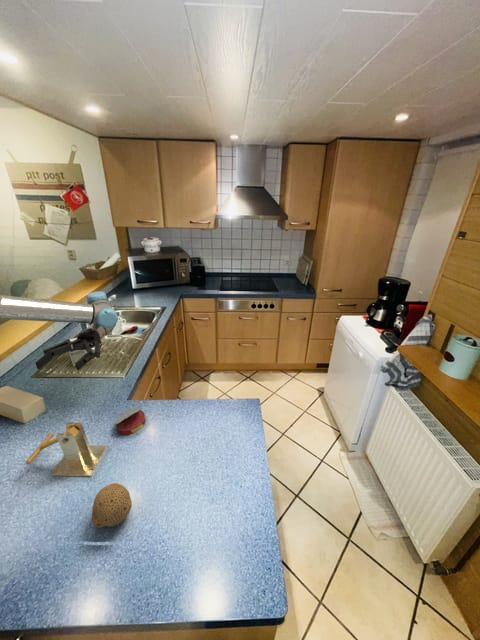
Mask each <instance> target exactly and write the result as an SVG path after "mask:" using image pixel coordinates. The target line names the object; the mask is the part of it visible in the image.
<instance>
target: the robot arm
mask: <svg viewBox="0 0 480 640" xmlns="http://www.w3.org/2000/svg"><path fill="white" fill-rule="evenodd" d="M0 320H11V321H13V320H14V321H15V320H16V321H33V322H51V323H52V322H53V323H70V324H90V325H88V326H87V327H86V328H84V330H83V331H81V332H80V333H79V334H78V335H77V337H76V338H77V339H76V340H74V341H70V339H71V338H68V339H65V340H64V341H62V342H60V343H57V344H55V345H53V346H50V347H47V348H46V349H45V348H44V349H43V350H42V353H43V355H42V356H41V357H40V358H39V359H38V360H37V361H35V362H34V364H35V365H36V369H37V370H41V369H42V368H43V367H45V366H46V365H47V364H49V363H50V362H51V361H52V360H53V359H54V357H55V358H56V357H57V356H60V355H63V354H66V353H69V351H70V352H72V351H75V350H85V349H86V351H87V353H86V354H85V355H84V356H83V357H81V358H80V359H79V360H78V361H77V362H76V363H75V365H76V366H75V368H76V370H77V371H80V370H81V369H82V368H83V367H85V365H87V364H86V363H88V362H89V361H90V362H91V360H93V359H95V358H96V359H99V358H101V348H102V347H103V344H102V340H103V339H104V338H105V337H106V336H108V334H109V333H111V332H112V331H113V330H114V329H115V327H116V326H117V323H118V321H119V315H118V313H117V311H116V310H115V309H114V308H113V307H112V305H111V304H110V303H109V301H108V297H107V294H106V292H104V291H92V292H89V293H88V294H86V303H82V302H73V301H63V300H62V301H61V300H55V299H54V300H53V299H42V298H34V297H33V298H32V297H25V296H13V295H4V294H1V293H0ZM71 345H73V349H72V348H71ZM93 348H94V351H93ZM90 362H89V363H90Z"/></svg>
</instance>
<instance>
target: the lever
mask: <svg viewBox="0 0 480 640" xmlns="http://www.w3.org/2000/svg"><path fill="white" fill-rule="evenodd" d="M78 432H79V431H78V430H77V429H76V428H75V427H74V426H73V427H71V428H69V429H67V428H66V430H65V431H64V433H68V434H74V437H76V435H77V434H78ZM54 435H55V434H54V433H53V432H49V434H48V435H47V436H46V437H45V438H44V439H43V440H42V442H41V443H40V444H39V445H38V447H36V449H35V450H34V451H33V453H31V455H30V456H29V457H28V458H27V460H26V461H25V464H26V465H28V466H29V465H32V463H33V462H34V461H35V459H36V458H37V457H38V456H39V454H40V453H41V452H42V451H43V450H45V449H47V448H48V447H51V446H53V445H55V444H57V443H59V442H58V439H57V437H55V438H53V437H54Z"/></svg>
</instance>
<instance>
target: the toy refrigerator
mask: <svg viewBox="0 0 480 640" xmlns="http://www.w3.org/2000/svg"><path fill="white" fill-rule="evenodd" d="M45 411H47V409H46V403H45V399H44V397H43V396H40V395H36V394H34V393H30V392H27V391H25V390H21V389H18V388H15V387H12V386H8V385H5V386H2V387H0V415H1V416H3V417H6V418H8V419H11V420H14V421H17V422H19V423H22V424H25V425H26V424H27V423H29V422H31V421H32V420H33V419H35V418H36V417H38V416H39V415H40V414H42V413H43V412H45Z"/></svg>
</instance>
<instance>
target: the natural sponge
mask: <svg viewBox="0 0 480 640" xmlns="http://www.w3.org/2000/svg"><path fill="white" fill-rule="evenodd" d="M130 494H131V493H130V492H129V490H128V489H127V488H126V486H125V485H123V484H121V483H117V482H114V483H113V482H112V483H110V484H108V485H105V486H104V487H102V488H101V489H100V490H99V491H98V492H97V494H96V495H95V498H94V500H93V503H92V510H91V523H92V525H93V526H94V527H96V528H104V527H108V528H109V527H111V528H112V527H115V526H118V525H119V524H121V523H122V522H123V521H124V520H125V519H126V518H127V517H128V515H129V514H130V512H131V510H132V506H133V505H132V504H133V502H132V499H131V495H130Z"/></svg>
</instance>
